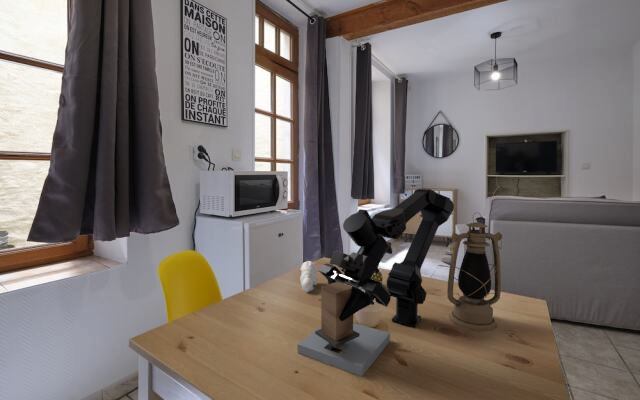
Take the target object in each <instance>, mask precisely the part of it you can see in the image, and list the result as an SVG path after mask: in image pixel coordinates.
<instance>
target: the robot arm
mask: <svg viewBox="0 0 640 400" xmlns="http://www.w3.org/2000/svg"><path fill="white" fill-rule="evenodd" d="M454 209H455V204H454V202H453V200H452V199H451V198H450V197H447V196H446V195H442V194H440V193H439V192H438V193H437V192H436V191H435V190H433V189H432V188H417V189H415V190H414V192H413V193H412V194H410V196H408V197H407V198H405V199H404V200H403V201H402V202H400V203H399V204H398V205H395V207H393V208H391V209H386V210H382V211H379V212H377V213H375V214H374V215H373V216H372V217H371V216H370V213H369V212H368V210H367V209H360V208H359V209H358V211H357V212H355V213H353V214H351V215H350V216H348V217H347V218H345V220H344V222H343V224H342V228H343V230H344V231H345V233H346V234H347V235H348V237H349V238H350V239H351V240H352V241H353V242H354V244H355V245H356V246H357V247H359V248H358V250H357V252H353V251H352V252H350V254H347V253H343V252H341V251H337V250H333V252H332V253H331V254H332V255H331V258H330V260H329V263H327V262H326V263H323V264H322V265H321V267H320V268H319V270H318V272H319V273H320V274H321V275H322V276H323V277H324V278H325V279H326V280H327V283H328V284H332V283H335V282H341V283H343V284H345V285H348V286H350V287H352V291H351V297H350V298H349V300H348V302H347V304H346V305H345V307H344V309H343V311H342V313H341V315H340V317H339V319H340V320H341V321H344V320H345V319H347V318H348V317H350V316H351V315H353V316H354V314H356V313H358V312H359V311H361V310H363V309H365V308H367V307H369V306H370V305H371V306H374V305H375V303H377V304H379V305H381V306H383V307H388V306H389V303H390V301H391V298H392V297H393V298H396V299H395V314H394V316H393V317H392V318H391V322H393V323H398V324H401V325H405V326H409V327H413V328H414V327H416V326H417V325H418V323H419V322H420V321H421V320H422V316H421V315H418V312H419V311H418V310H419V309H418V307H419V305H423V304H424V302H425V301H426V298H427V291H426V290H425V289H424V287H423V286H422V282H423V278H422V277H423V276H422V272H421V269H422V267H423V264H424V262H425V259H426V257H427V254H428V252H429V250H430V247H431V246H432V243H433V240H434V239H435V236H436V234H437V231H438V228H439V227H440V226H441V225H443V224H445V223H446V222H447V221H449V219H450V216H452V214H453V212H454ZM418 213H421V218H422V219H421V221H420V224H419V225H418V228H417V230H416V232H415V235H414V237H413V239H412V241H411V243H410V246H409V248H408V250H407V252H406V254H405V256H404V258H403V260H402V261H401V262H394V263H393V264H392V267H391V270H390V271H389V272H388V274H387V275H388V276H387V279H386V287H385V286H384V284H383V283H382V282H379V281H378V280H377V281H375V280H372V279H370V278H371V277H372V275H373V273H376V274H377V275H378V273H379V272H380V269H379V268H378V266H379V265H380V263H381V261H382V260H383V258H384V257H385V254H389V255H392V254H393V248H392V243H391V242H390V241H387V240H386V239H392V240H398V238H400V237H401V236H402V235H403V234H404V232H405V231H406V230H407V223H408V222H409V221H410V220H411V219H412V218H414V217H416V215H417V214H418ZM328 284H327V285H328ZM374 301H375V302H374Z"/></svg>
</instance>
